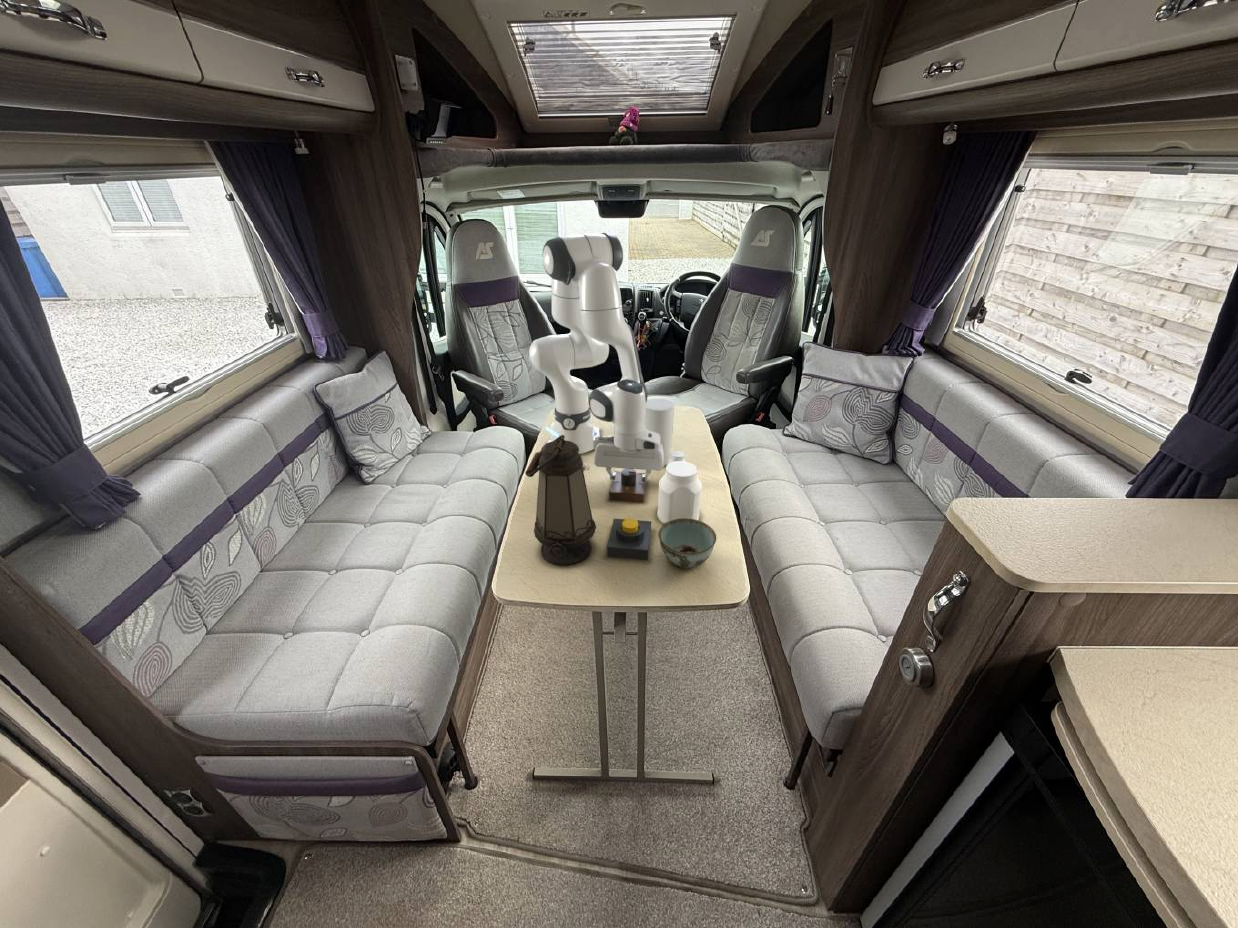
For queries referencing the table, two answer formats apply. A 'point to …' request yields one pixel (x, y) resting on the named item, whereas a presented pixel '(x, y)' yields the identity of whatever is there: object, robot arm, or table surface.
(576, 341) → the robot arm
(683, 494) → the jar
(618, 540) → the trigger housing
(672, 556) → the bowl
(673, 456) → the supplement bottle
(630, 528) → the cylinder
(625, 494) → the dial panel
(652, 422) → the container
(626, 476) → the knob
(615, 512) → the table surface
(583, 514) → the lantern
